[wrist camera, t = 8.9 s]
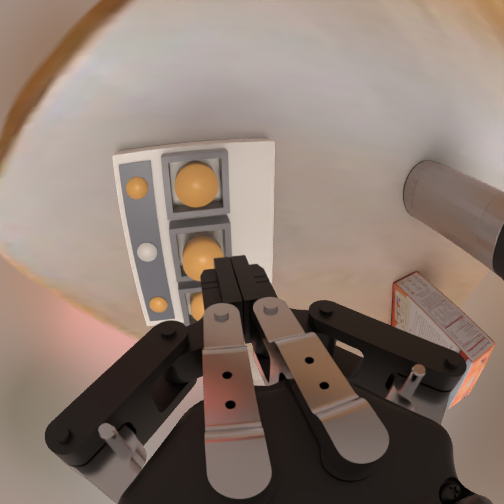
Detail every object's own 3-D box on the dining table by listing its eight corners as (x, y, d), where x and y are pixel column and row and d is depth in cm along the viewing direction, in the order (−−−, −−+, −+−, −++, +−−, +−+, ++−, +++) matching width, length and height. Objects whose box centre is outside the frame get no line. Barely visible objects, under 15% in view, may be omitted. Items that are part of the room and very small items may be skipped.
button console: (266, 138, 30) (281, 143, 26) (265, 296, 40) (275, 321, 36) (118, 151, 27) (106, 159, 23) (148, 311, 37) (146, 338, 33)
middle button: (220, 233, 29) (223, 242, 27) (223, 268, 31) (225, 278, 29) (180, 237, 28) (180, 247, 26) (184, 272, 30) (185, 283, 28)
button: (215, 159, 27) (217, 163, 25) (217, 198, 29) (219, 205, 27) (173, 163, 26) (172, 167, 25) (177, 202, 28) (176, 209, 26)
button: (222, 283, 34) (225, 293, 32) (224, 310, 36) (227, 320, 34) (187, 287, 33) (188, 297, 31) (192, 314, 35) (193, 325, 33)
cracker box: (412, 322, 53) (471, 392, 35) (389, 335, 52) (446, 411, 34) (418, 268, 46) (498, 343, 28) (392, 281, 45) (471, 366, 27)
